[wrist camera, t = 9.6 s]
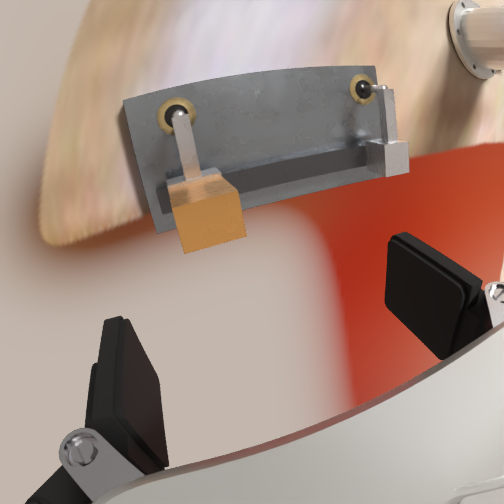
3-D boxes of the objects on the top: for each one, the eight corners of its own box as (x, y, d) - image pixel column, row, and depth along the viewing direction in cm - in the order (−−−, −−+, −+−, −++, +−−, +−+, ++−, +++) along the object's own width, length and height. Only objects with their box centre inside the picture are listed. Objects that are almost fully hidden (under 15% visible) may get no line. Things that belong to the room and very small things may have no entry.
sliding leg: (200, 105, 24) (220, 100, 16) (221, 205, 28) (247, 240, 20) (151, 117, 23) (149, 117, 16) (176, 217, 27) (185, 258, 20)
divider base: (366, 66, 28) (404, 63, 23) (377, 173, 33) (412, 186, 28) (124, 101, 23) (116, 97, 18) (157, 228, 29) (158, 254, 24)
